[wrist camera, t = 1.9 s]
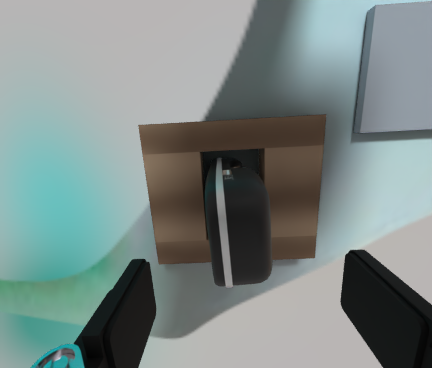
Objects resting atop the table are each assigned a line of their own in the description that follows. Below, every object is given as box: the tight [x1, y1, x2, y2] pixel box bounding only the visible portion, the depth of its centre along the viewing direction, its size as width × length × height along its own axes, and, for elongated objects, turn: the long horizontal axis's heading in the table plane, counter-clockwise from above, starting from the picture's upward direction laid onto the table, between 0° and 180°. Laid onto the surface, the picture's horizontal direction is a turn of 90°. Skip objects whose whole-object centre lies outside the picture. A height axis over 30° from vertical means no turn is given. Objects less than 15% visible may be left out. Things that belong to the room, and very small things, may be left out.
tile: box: [354, 1, 432, 133], centre depth 19 cm, size 10×10×1 cm
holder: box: [138, 114, 326, 264], centre depth 21 cm, size 14×16×3 cm
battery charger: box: [205, 158, 272, 288], centre depth 17 cm, size 7×4×11 cm, turn 6°
